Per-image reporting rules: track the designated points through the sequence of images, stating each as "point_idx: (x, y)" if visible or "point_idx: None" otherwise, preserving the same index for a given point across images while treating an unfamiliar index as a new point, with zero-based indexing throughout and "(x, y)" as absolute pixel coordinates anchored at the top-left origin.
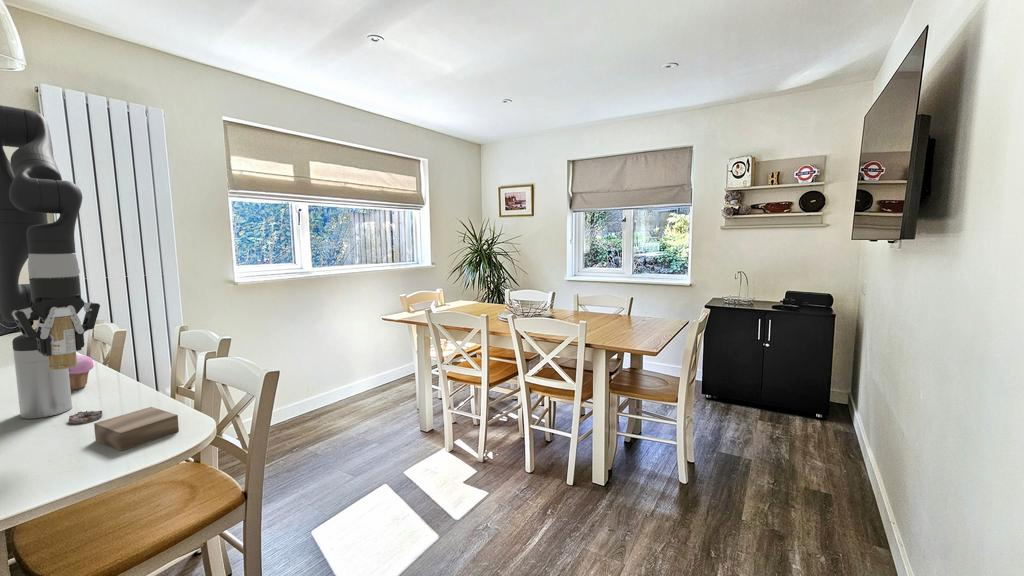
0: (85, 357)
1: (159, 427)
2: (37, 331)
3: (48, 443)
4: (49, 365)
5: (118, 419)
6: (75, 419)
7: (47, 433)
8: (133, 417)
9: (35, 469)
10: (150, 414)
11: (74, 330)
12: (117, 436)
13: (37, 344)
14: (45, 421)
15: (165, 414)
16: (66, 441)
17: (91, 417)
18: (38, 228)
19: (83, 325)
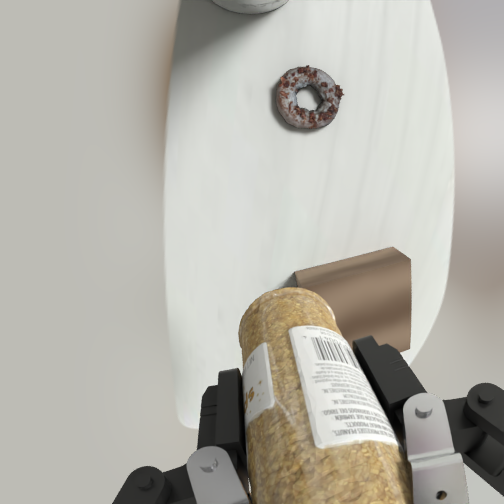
0: None
1: None
2: (201, 496)
3: (225, 214)
4: (241, 343)
5: (341, 300)
6: (287, 112)
7: (230, 137)
8: (363, 309)
9: (200, 336)
10: (388, 313)
11: (402, 441)
12: None
13: (199, 427)
14: (238, 41)
15: (401, 333)
16: (253, 230)
17: (317, 125)
18: None
19: (457, 445)
